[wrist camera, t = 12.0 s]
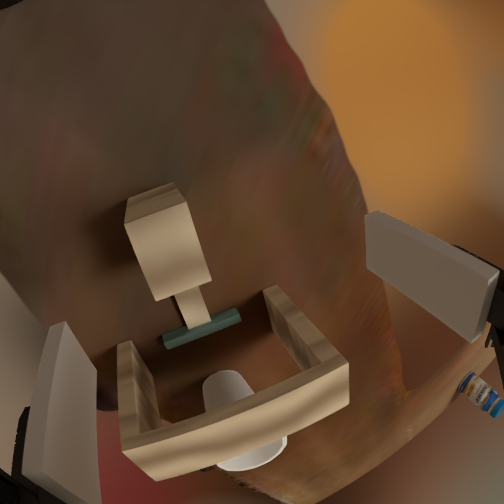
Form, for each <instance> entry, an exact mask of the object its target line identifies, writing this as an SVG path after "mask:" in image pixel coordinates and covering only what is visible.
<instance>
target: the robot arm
mask: <svg viewBox="0 0 504 504" xmlns="http://www.w3.org/2000/svg"><path fill="white" fill-rule="evenodd" d="M19 1H21V0H0V9H1V8H5V7H8V6H10V5H13V4H15V3H17V2H19ZM365 233H366V265H367V269H369V270H370V271H371V272H373V273H374V274H376V275H377V276H379V277H380V278H382V279H383V280H384V281H386V282H387V283H389V284H390V285H392V286H393V287H395V288H396V289H397V290H399V291H400V292H402V293H403V294H404V295H406V296H407V297H409V298H410V299H411V300H413V301H414V302H416V303H417V304H418V305H420V306H421V307H423V308H424V309H425V310H427V311H428V312H429V313H431V314H432V315H434V316H435V317H436V318H438V319H439V320H440V321H442V322H443V323H444V324H446V325H447V326H448V327H450V328H451V329H453V330H454V331H455V332H457V333H458V334H459V335H460V336H462V337H463V338H464V339H466V340H467V341H468V342H470V343H471V344H472V343H473V342H474V341H475V340H476V339H477V338H478V337H479V336H480V335H482V334H483V331H484V327H485V324H486V321H488V322H489V323H491V327H490V330H489V333H488V336H487V339H486V342H485V348H487V347H488V345H489V342H490V340H491V339H492V341H493V342H492V344H491V347H494V349H495V352H496V356H497V360H498V365H499V369H500V374H501V378H502V383H503V388H504V270H503V269H501V268H499V267H497V266H495V265H493V264H492V263H490V262H488V261H486V260H484V259H482V258H480V257H477V256H476V255H475V254H473V253H469V251H467V250H465V249H463V248H461V247H459V246H455V245H452V244H448V243H446V242H444V241H442V240H440V239H438V238H436V237H434V236H432V235H430V234H428V233H426V232H424V231H422V230H419V229H417V228H415V227H413V226H411V225H409V224H407V223H404V222H402V221H400V220H398V219H395V218H393V217H391V216H389V215H387V214H384V213H382V212H380V211H374V212H372V213H369V214H366V215H365ZM96 385H97V370H96V368H95V367H94V365H93V364H92V362H91V361H90V360H89V358H88V357H87V355H86V353H85V352H84V350H83V349H82V347H81V346H80V344H79V343H78V341H77V339H76V338H75V336H74V335H73V333H72V331H71V330H70V328H69V326H68V325H67V323H66V321H64V322H61V323H58V324H56V325H53V326H50V328H49V332H48V335H47V339H46V342H45V346H44V349H43V353H42V357H41V361H40V365H39V369H38V373H37V377H36V382H35V387H34V391H33V396H32V401H31V406H29V407H25V409H24V411H23V413H22V415H21V416H20V419H19V422H18V428H17V433H18V434H17V435H16V440H15V442H16V444H15V447H14V454H13V462H12V472H11V476H10V475H8V474H7V473H6V472H4V471H3V470H2V469H1V468H0V504H102V503H101V494H100V484H99V473H98V459H97V435H96Z"/></svg>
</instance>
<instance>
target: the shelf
mask: <svg viewBox="0 0 504 504" xmlns="http://www.w3.org/2000/svg"><path fill="white" fill-rule="evenodd" d="M262 291H263V295H264V299H265V302H266V306H267V310H268V314H269V318H270V322H271V326H272V330H273V332H274V333H275V334H276V336H277V337H278V339H279V340H280V341H281V343H282V344H283V345H284V347H285V348H286V350H287V351H288V352H289V354H290V355H291V357H292V358H293V359H294V361H295V362H296V363H297V365H298V366H299V368H300V369H301V370H302V372H301V373H299V374H297V375H295V376H293V377H291V378H289V379H287V380H284V381H282V382H280V383H278V384H275V385H273V386H271V387H269V388H266V389H264V390H262V391H259V392H257V393H255V394H252V395H250V396H247V397H245V398H243V399H240V400H238V401H235V402H233V403H230V404H227V405H225V406H222V407H220V408H217V409H214V410H212V411H209V412H206V413H203V414H200V415H198V416H195V417H192V418H189V419H186V420H183V421H180V422H177V423H174V424H171V425H168V426H165V427H162V426H161V420H160V415H159V410H158V404H157V399H156V393H155V387H154V380H153V376H152V374H151V373H150V371H149V369H148V368H147V366H146V364H145V363H144V361H143V360H142V358H141V356H140V355H139V353H138V351H137V349H136V348H135V346H134V344H133V343H132V341H131V340H128V341H126V342H123V343H120V344H117V385H118V409H119V424H120V437H121V448H122V452H123V453H124V454H125V455H126V456H127V457H128V458H129V459H130V460H132V461H133V462H134V463H135V464H136V465H137V466H138V467H139V468H141V469H142V470H143V471H144V472H145V473H146V474H148V475H149V476H150V477H152V479H154V480H155V481H160V480H164V479H168V478H171V477H175V476H179V475H182V474H186V473H189V472H192V471H195V470H199V469H202V468H205V467H208V466H211V465H214V464H217V463H220V462H223V461H226V460H229V459H231V458H234V457H237V456H239V455H242V454H245V453H247V452H250V451H252V450H255V449H257V448H260V447H262V446H264V445H267V444H269V443H272V442H274V441H276V440H278V439H281V438H283V437H285V436H287V435H290V434H292V433H294V432H296V431H298V430H300V429H302V428H304V427H306V426H308V425H310V424H312V423H314V422H316V421H318V420H320V419H322V418H324V417H326V416H328V415H330V414H332V413H334V412H336V411H337V410H339V409H341V408H343V407H345V406H346V405H348V404H349V363H348V361H347V360H346V359H345V358H344V357H343V356H342V355H341V354H340V353H339V352H338V351H337V350H336V348H335V347H334V346H333V345H332V344H331V343H330V342H329V341H328V340H327V339H326V338H325V336H324V335H323V334H322V333H321V332H320V331H319V330H318V329H317V328H316V327H315V326H314V325H313V323H312V322H311V321H310V320H309V319H308V318H307V317H306V316H305V315H304V314H303V313H302V311H301V310H300V309H299V308H298V307H297V306H296V305H295V304H294V303H293V302H292V301H291V299H290V298H289V297H288V296H287V295H286V294H285V293H284V292H283V291H282V290H281V289H280V287H279V286H278V285H277V284H275V285H273V286H270V287H268V288H266V289H263V290H262Z"/></svg>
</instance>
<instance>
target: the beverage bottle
mask: <svg viewBox="0 0 504 504" xmlns="http://www.w3.org/2000/svg"><path fill="white" fill-rule="evenodd" d="M459 391H461V392H462V393H463V394H465V395H466V396H467V397H468V398H469V399H470V400H471V401H472V402H473V403H475V405H476V406H477V407H480V409H481V410H483V411H489V414H490V415H491V416H492V417H493V418H496V417H497V416H498V415H499V414H500V413H501V411H502V410H503V409H504V400H503V399H499V397H498V393H497V392H496V391H495V390H493V389H492V387H491V386H489V385H488V384H486V383H485V382H484V381H483V380H482V379H480V378H479V377H478V376H477V375H476V374H475V373H474V372H470V373H469V374H467V375H466V376H465V378H464V379H463V380H462V382H461V383H460V385H459Z"/></svg>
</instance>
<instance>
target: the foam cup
mask: <svg viewBox="0 0 504 504" xmlns="http://www.w3.org/2000/svg"><path fill="white" fill-rule="evenodd" d="M202 389H203V390H202V391H203V397H204V404H205V410H206V412H209V411H212V410H214V409H217V408H220V407H222V406H225V405H227V404H230V403H233V402H235V401H238V400H240V399H243V398H245V397H247V396H250V395H252V394H255V393H254V392H253V391H252V389H251V388H250V387H249V385H248V384H247V383H246V381H245V380H244V379H243V378H242V376H241V375H240V374H239V373H238V372H236V371H232V370H223V371H218V372H216V373H214V374H211V375H210V376H209V377H208V378H207V379H206V380H205V381H204V384H203V386H202ZM286 445H287V436H285V437H283V438H281V439H278V440H276V441H274V442H272V443H269V444H267V445H264V446H262V447H260V448H257V449H255V450H252V451H250V452H247V453H245V454H242V455H239V456H237V457H234V458H231V459H229V460H226V461H223V462H220V463H217V466H218V467H220V468H222V469H225V470H227V471H243V470H247V469H252V468H256V467H258V466H260V465H263V464H265V463H267V462H269V461H271V460H272V459H273V458H275V457H276V456H277V455H279V454H280V453H281V452H282V450H283V449H284V448H285V446H286Z"/></svg>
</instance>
